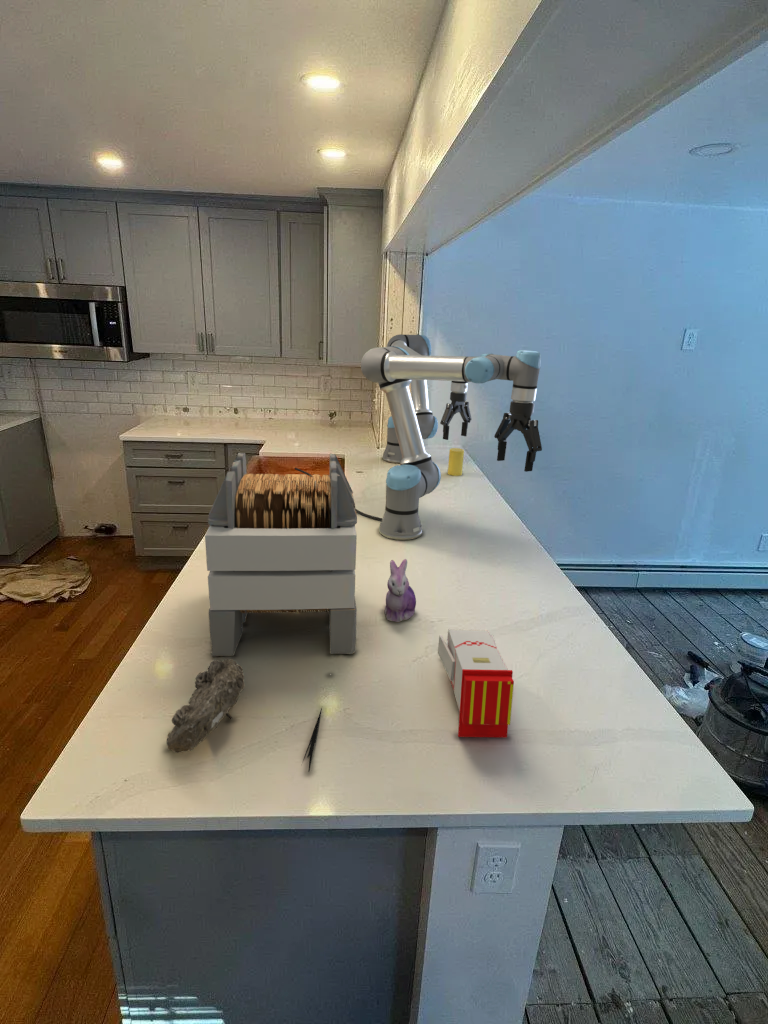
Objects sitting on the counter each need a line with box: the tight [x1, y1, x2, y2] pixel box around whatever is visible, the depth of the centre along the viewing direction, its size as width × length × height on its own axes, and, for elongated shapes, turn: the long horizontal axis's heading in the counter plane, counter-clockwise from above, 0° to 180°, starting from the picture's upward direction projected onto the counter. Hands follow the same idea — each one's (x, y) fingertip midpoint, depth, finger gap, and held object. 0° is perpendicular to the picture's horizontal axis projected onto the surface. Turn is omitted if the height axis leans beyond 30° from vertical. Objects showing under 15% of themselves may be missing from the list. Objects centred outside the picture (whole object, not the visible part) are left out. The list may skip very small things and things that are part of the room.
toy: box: [437, 628, 515, 738], centre depth 117 cm, size 12×13×30 cm
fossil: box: [166, 658, 245, 754], centre depth 106 cm, size 22×10×15 cm
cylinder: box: [447, 447, 465, 477], centre depth 275 cm, size 7×7×12 cm
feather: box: [301, 673, 332, 771], centre depth 108 cm, size 2×28×2 cm
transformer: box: [204, 452, 358, 658], centre depth 136 cm, size 34×33×41 cm
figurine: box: [384, 558, 417, 623], centre depth 145 cm, size 9×10×15 cm
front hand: (514, 465), depth 188 cm, fingers open, 13 cm apart
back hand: (454, 437), depth 267 cm, fingers open, 13 cm apart
